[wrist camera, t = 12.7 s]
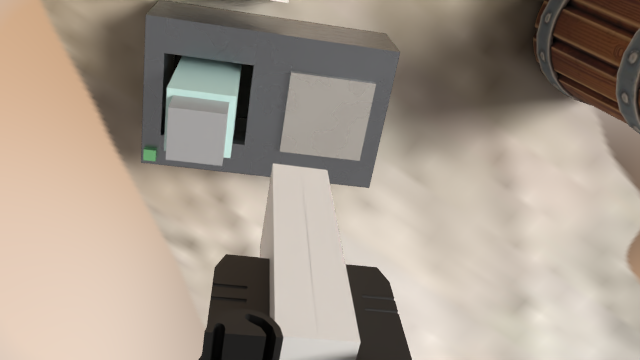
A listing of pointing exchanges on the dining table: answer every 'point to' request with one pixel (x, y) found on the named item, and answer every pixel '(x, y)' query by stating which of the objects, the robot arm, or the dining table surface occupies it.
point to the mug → (593, 53)
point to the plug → (201, 110)
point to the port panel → (278, 89)
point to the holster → (282, 1)
